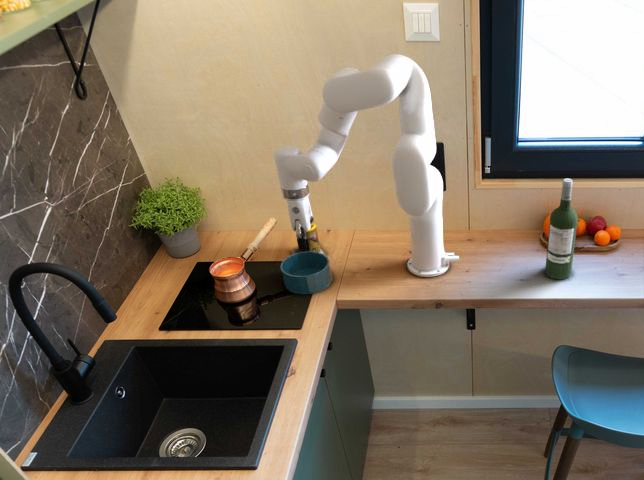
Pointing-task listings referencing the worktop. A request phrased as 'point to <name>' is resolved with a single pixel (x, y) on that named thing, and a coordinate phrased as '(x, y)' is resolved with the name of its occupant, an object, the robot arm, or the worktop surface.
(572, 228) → the wine bottle
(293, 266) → the bowl
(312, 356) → the worktop surface
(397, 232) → the worktop surface
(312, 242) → the condiment
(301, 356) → the worktop surface
